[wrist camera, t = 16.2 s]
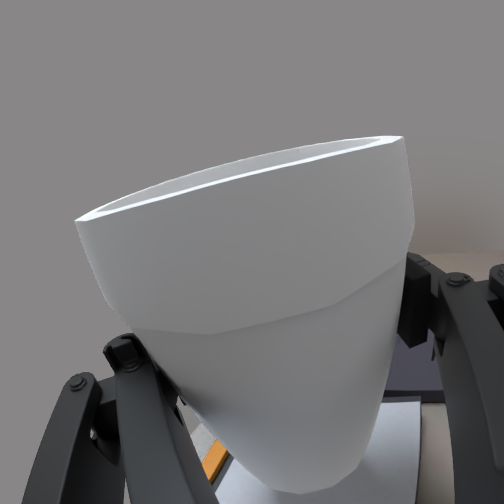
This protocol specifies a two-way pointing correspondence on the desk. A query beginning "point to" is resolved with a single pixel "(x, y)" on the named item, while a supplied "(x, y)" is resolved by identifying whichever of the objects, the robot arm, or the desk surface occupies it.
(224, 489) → the scale
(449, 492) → the desk surface
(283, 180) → the foam cup
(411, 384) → the notebook
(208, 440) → the desk surface
